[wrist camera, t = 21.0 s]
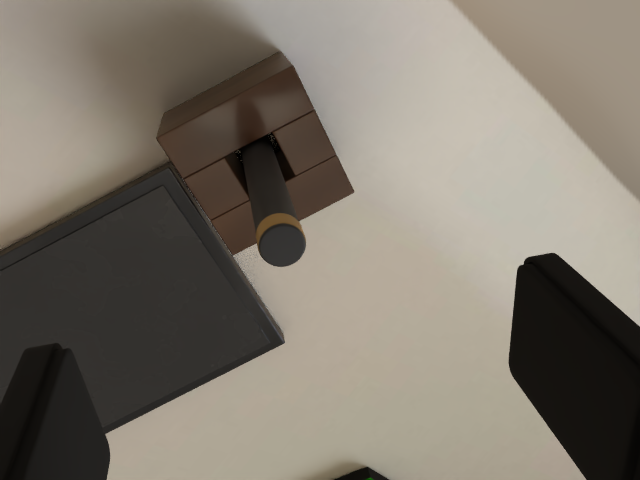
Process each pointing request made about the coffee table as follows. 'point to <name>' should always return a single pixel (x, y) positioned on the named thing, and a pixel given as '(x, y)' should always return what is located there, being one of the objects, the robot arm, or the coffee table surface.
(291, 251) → the stylus
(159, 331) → the tablet
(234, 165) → the holder
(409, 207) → the coffee table surface
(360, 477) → the computer mouse
